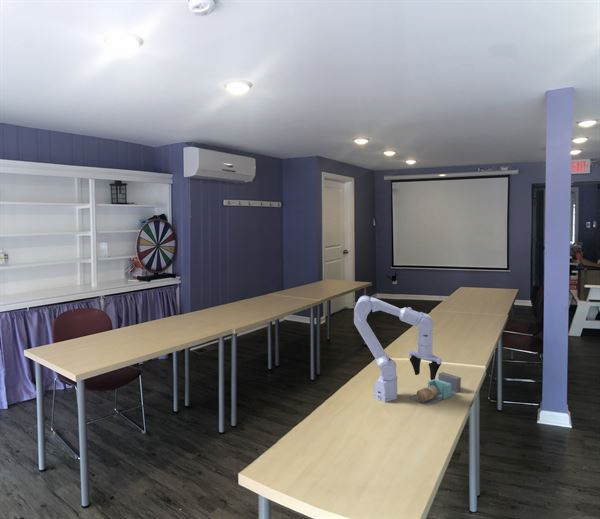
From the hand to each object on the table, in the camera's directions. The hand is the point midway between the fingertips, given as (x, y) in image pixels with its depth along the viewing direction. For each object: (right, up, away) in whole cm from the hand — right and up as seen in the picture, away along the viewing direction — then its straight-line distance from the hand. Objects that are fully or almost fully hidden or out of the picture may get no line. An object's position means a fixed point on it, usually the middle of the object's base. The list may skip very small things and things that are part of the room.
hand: (424, 376), depth 184 cm
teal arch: (+8, -9, +5) cm, 13 cm away
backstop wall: (+14, -9, +11) cm, 20 cm away
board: (+5, -9, +4) cm, 11 cm away
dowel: (+1, -9, +1) cm, 9 cm away
